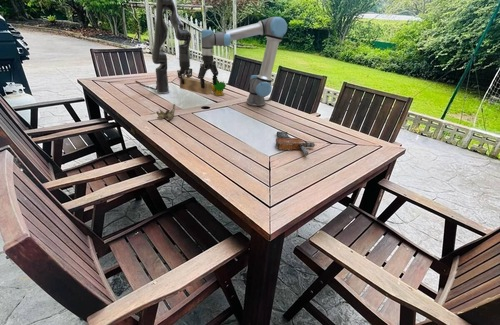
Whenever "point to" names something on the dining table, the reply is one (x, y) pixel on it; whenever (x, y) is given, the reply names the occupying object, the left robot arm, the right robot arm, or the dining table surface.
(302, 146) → the tool
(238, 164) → the dining table surface
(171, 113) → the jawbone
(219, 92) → the ornament
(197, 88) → the bar
